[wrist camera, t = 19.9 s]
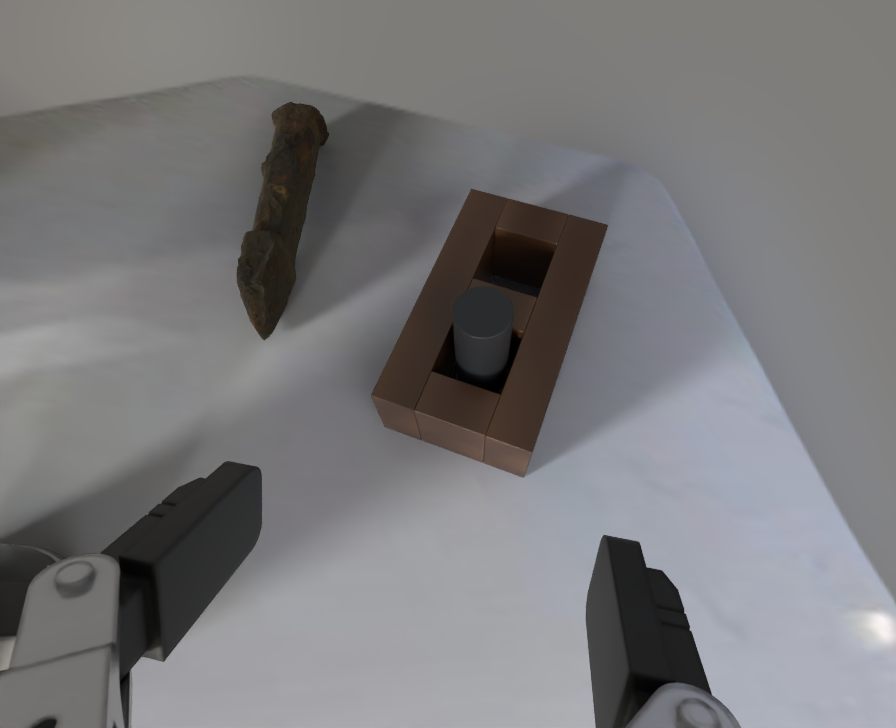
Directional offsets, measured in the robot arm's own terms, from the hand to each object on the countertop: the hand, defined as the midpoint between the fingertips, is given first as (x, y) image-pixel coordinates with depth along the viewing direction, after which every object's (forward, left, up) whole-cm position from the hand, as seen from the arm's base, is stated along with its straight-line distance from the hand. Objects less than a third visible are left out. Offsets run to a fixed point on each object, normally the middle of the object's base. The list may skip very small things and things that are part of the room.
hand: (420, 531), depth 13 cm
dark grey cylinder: (-3, +12, -19) cm, 22 cm away
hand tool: (-20, +19, -19) cm, 33 cm away
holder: (-3, +15, -19) cm, 24 cm away
